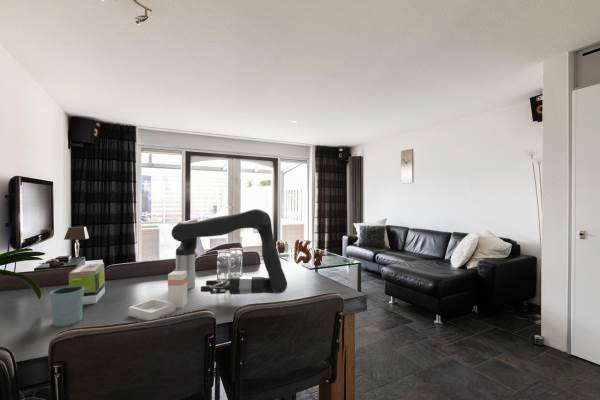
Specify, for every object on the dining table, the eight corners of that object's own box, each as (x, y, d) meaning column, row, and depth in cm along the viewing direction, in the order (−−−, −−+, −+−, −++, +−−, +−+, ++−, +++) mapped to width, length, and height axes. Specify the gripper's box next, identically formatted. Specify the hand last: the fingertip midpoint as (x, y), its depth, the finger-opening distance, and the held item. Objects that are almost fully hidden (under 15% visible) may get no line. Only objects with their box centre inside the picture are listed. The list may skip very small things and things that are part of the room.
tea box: (80, 295, 139) (80, 264, 139) (105, 293, 143) (105, 262, 142) (68, 306, 125) (68, 272, 125) (96, 303, 128) (96, 270, 128)
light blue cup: (60, 329, 103) (60, 295, 103) (43, 324, 107) (43, 291, 107) (90, 318, 113) (90, 287, 113) (73, 314, 117) (73, 284, 116)
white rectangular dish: (128, 315, 115) (128, 307, 115) (153, 306, 125) (153, 298, 125) (150, 322, 109) (150, 312, 109) (175, 311, 119) (175, 303, 119)
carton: (167, 307, 124) (167, 274, 124) (173, 302, 130) (173, 270, 130) (182, 307, 124) (182, 274, 124) (187, 302, 130) (187, 270, 130)
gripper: (243, 272, 136) (207, 273, 135) (239, 281, 121) (198, 282, 120) (243, 288, 136) (207, 289, 135) (239, 299, 121) (199, 300, 120)
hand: (203, 285), depth 128 cm, fingers open, 8 cm apart
